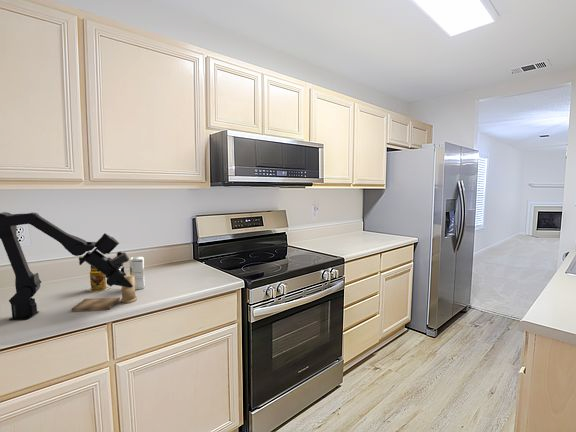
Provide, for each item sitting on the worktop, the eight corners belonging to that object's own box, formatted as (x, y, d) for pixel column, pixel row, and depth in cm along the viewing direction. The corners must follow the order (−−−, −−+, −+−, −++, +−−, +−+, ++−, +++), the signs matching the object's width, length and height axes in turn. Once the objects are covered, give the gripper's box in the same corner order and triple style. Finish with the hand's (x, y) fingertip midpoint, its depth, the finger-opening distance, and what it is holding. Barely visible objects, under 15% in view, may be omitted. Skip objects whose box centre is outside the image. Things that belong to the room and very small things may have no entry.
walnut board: (71, 311, 123) (71, 308, 123) (85, 301, 133) (84, 298, 133) (109, 309, 125) (109, 306, 125) (120, 300, 135) (120, 297, 135)
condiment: (95, 293, 143) (93, 267, 142) (84, 290, 147) (83, 265, 146) (110, 288, 150) (109, 263, 149) (100, 285, 154) (98, 261, 153)
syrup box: (131, 286, 152) (130, 257, 151) (145, 285, 154) (143, 256, 153) (130, 290, 147) (128, 259, 146) (144, 288, 149) (142, 258, 148)
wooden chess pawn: (118, 303, 131) (117, 278, 130) (124, 298, 137) (123, 274, 136) (133, 302, 132) (132, 278, 131) (138, 297, 138) (137, 274, 136)
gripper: (114, 251, 122) (147, 275, 128) (116, 243, 138) (144, 265, 144) (92, 274, 119) (126, 297, 125) (96, 263, 136) (126, 284, 142)
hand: (131, 284), depth 134 cm, fingers closed on wooden chess pawn, 5 cm apart
